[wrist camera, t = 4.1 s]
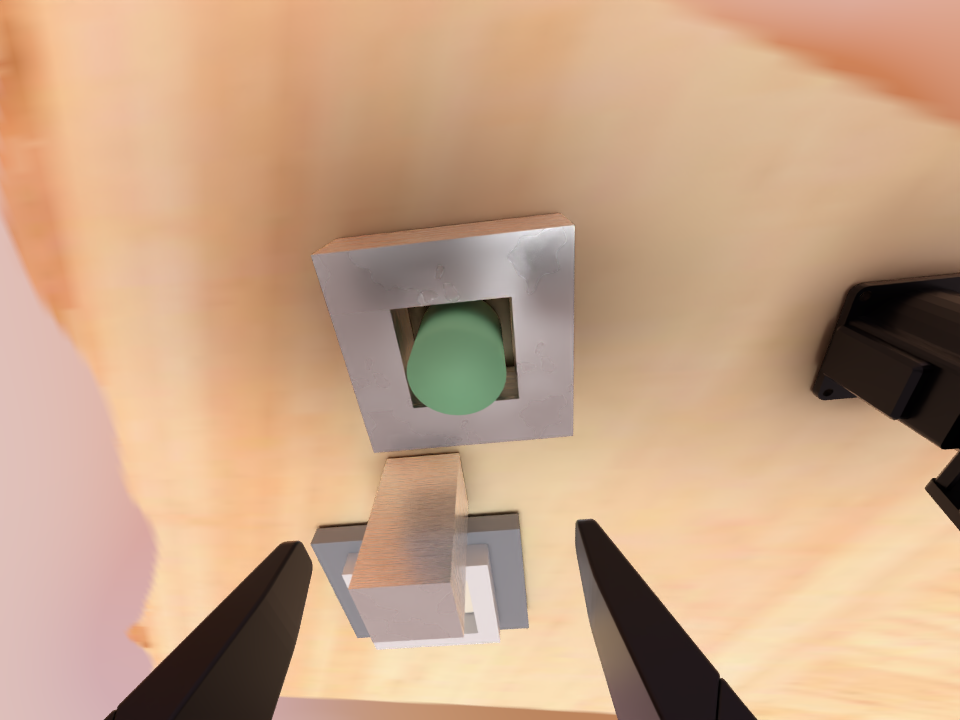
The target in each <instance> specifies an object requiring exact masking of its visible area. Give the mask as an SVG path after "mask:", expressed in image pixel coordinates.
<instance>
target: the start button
mask: <svg viewBox="0 0 960 720" xmlns="http://www.w3.org/2000/svg"><path fill="white" fill-rule="evenodd" d="M407 379H408V382H409V385H410V388H411V390H412V391H413V393H414V394H415V396H416V397H417V398H418V399H419V400H420V401H421V402H422V403H423V404H425V405H426V406H427V407H429V408H431V409H433V410H435V411H437V412H440V413H444V414H449V415H467V414H472V413H476V412H478V411H481V410H483V409H485V408H486V407H488V406H489V405H491V404H492V403H493V402H494V401H495V400H496V399H497V398H498V397H499V395H500V394H501V392H502V390H503V388H504V385H505V382H506V364H505V355H504V347H503V338H502V329H501V324H500V321H499V318H498V316H497V314H496V313H495V311H494V310H493V309H492V308H491V306H489V305H488V304H487V303H486V302H484V301H483V300H475V301H466V302H456V303H447V304H437V305H431V306H430V307H429V308H428V309H427V311H426V312H425V314H424V316H423V318H422V321H421V324H420V327H419V330H418V333H417V336H416V339H415V342H414V345H413V348H412V351H411V354H410V357H409V360H408V364H407Z"/></svg>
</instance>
